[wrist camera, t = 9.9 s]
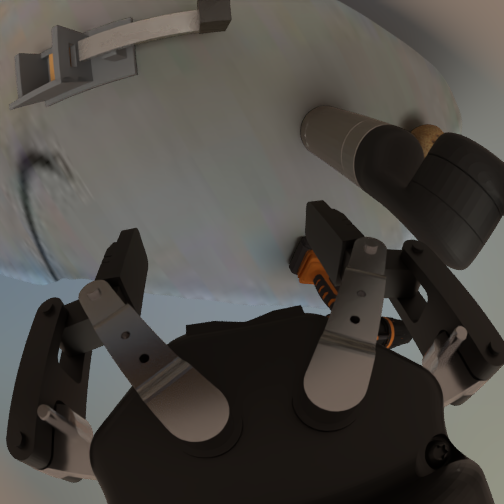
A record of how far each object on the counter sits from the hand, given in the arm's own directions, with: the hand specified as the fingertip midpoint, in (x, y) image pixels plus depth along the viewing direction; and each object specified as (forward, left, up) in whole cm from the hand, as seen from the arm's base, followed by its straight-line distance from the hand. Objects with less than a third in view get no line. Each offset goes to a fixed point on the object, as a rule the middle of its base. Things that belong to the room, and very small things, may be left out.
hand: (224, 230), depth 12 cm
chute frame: (+16, -16, -32) cm, 39 cm away
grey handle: (+6, -16, -24) cm, 29 cm away
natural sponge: (-41, +3, -32) cm, 52 cm away
